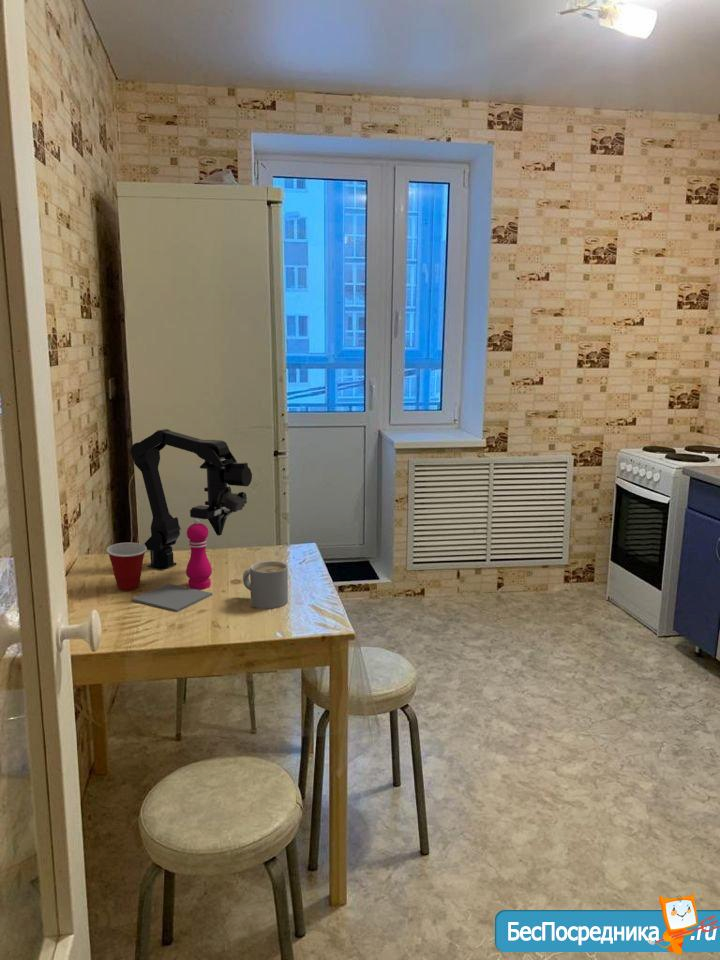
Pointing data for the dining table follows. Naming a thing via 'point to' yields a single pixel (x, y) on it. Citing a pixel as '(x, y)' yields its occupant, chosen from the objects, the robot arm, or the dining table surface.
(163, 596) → the mat
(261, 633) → the dining table surface
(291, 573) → the dining table surface
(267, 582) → the coffee mug
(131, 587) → the plastic cup
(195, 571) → the pepper mill
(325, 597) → the dining table surface
